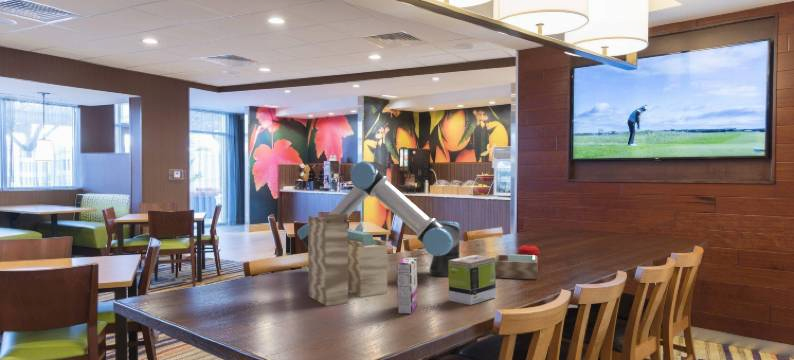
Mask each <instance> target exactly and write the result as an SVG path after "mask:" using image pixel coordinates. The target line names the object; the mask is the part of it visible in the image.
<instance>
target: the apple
mask: <svg viewBox="0 0 794 360" xmlns="http://www.w3.org/2000/svg"><path fill="white" fill-rule="evenodd" d="M517 252H518V254H517V255H535V256H537V259H538V260H539V258H540V254H541V252H540V249H539V248H538V247H537V246H535V245H531V244H529V243H528V244H527V245H521V246H520V247H519V248H518V251H517Z"/></svg>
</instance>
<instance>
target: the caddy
mask: <svg viewBox="0 0 794 360" xmlns="http://www.w3.org/2000/svg"><path fill="white" fill-rule="evenodd" d="M508 255H509V254H496V256H495V277H496V279H497V278H498V279H521V280H523V279H524V280H525V279H526V280H538V271H539V270H538V265H539V264H538V262H539V259H537V256H535V262H516V261H508Z"/></svg>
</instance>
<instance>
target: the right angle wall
mask: <svg viewBox="0 0 794 360" xmlns="http://www.w3.org/2000/svg"><path fill="white" fill-rule="evenodd" d="M507 255H508V261H516V262H535V255H519V254H507Z"/></svg>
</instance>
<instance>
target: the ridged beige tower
mask: <svg viewBox="0 0 794 360" xmlns="http://www.w3.org/2000/svg"><path fill="white" fill-rule="evenodd" d="M348 293H351V294H353V295H355V296H356V297H359V298H364V297H372V296H379V295H386V294H388V245H387V242H386V240H381V239H377V238H373V245H364V243H361V242H357V241H353V240H349V239H348Z"/></svg>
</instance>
